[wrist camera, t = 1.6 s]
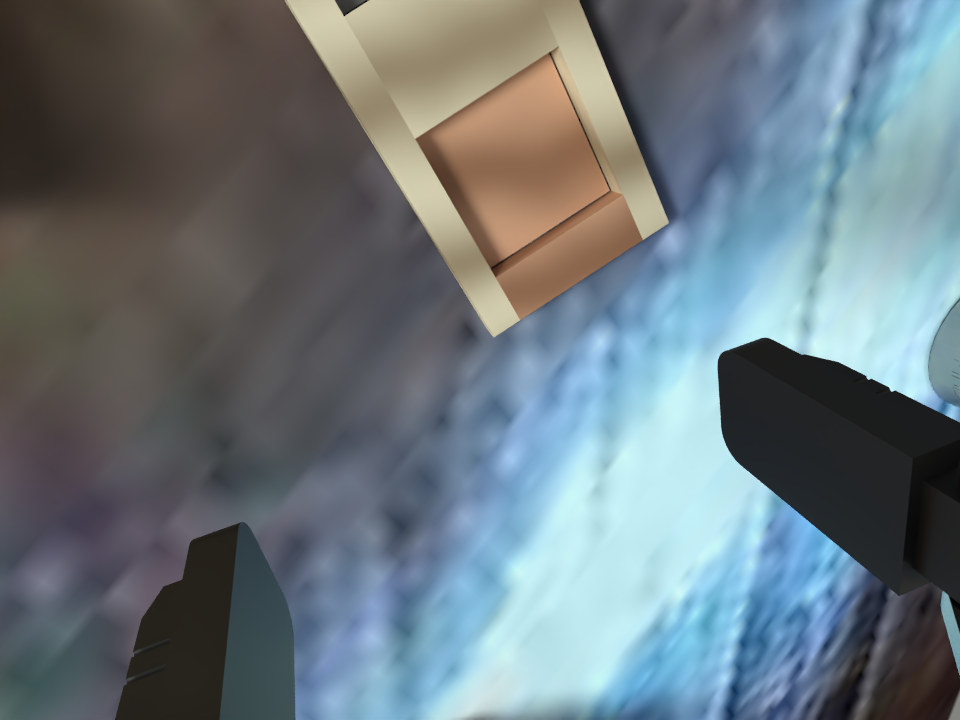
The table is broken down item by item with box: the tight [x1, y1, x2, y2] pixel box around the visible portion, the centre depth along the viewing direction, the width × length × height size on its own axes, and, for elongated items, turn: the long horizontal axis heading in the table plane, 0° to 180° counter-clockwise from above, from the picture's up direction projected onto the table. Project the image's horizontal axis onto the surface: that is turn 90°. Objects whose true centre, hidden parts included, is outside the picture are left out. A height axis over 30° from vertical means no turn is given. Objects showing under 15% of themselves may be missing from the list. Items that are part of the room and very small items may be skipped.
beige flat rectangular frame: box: [285, 0, 669, 337], centre depth 25 cm, size 24×10×1 cm, turn 30°
